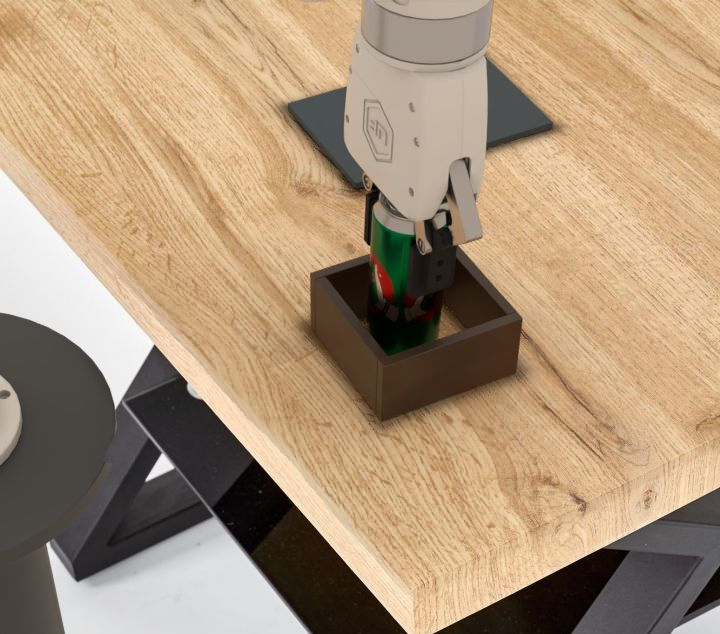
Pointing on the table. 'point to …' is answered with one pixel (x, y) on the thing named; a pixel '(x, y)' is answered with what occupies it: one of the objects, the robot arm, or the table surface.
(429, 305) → the soda can
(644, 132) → the table surface
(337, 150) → the mat
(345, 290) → the frame
